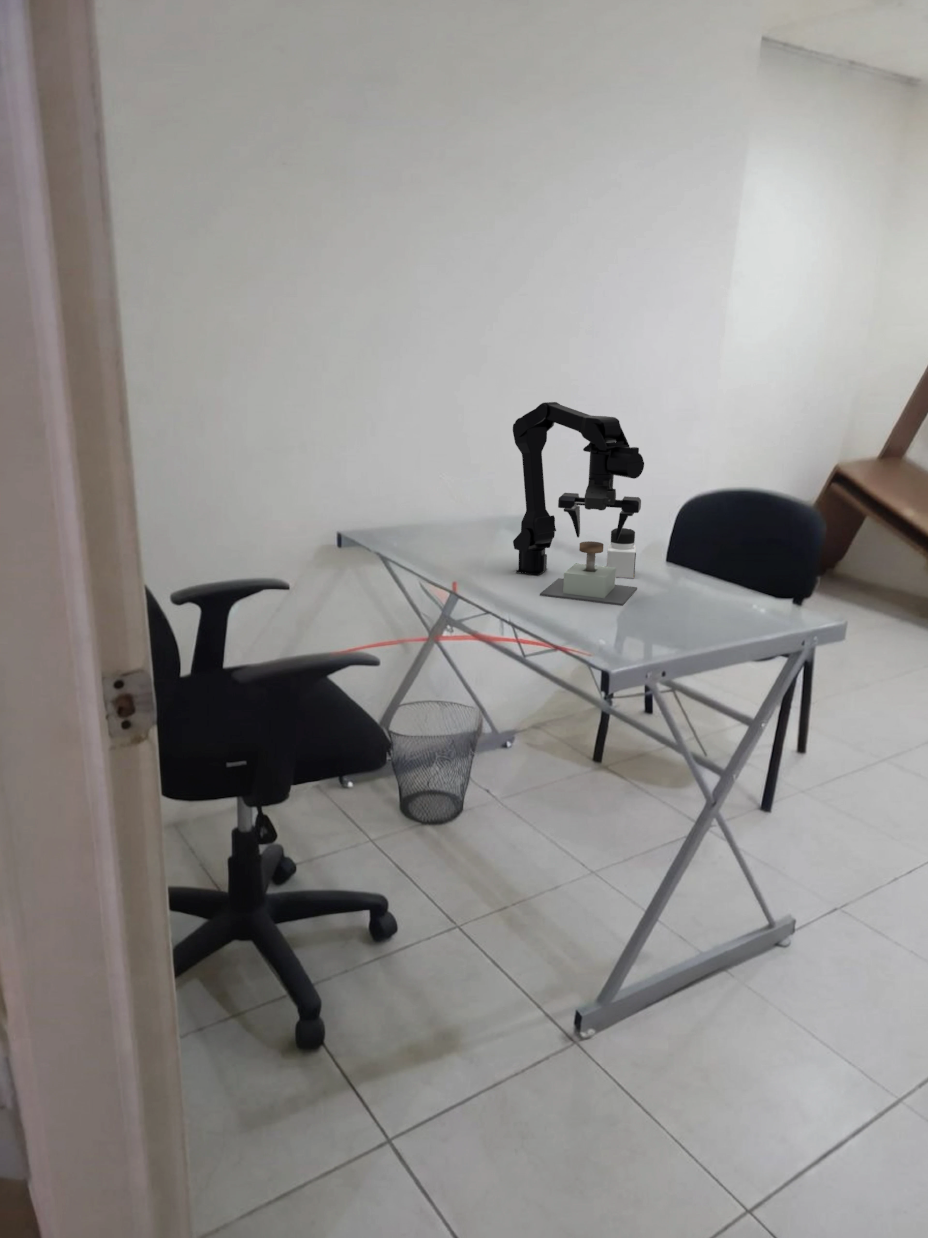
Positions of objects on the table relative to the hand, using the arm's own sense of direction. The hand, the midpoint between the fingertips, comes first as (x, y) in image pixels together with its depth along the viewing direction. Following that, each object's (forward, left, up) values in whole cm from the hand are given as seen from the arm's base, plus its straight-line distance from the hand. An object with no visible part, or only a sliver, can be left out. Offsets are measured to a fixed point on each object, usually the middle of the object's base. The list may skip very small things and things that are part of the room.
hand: (597, 538), depth 205 cm
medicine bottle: (+2, +18, -13) cm, 22 cm away
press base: (-1, -1, -13) cm, 13 cm away
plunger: (-1, -1, -9) cm, 9 cm away
